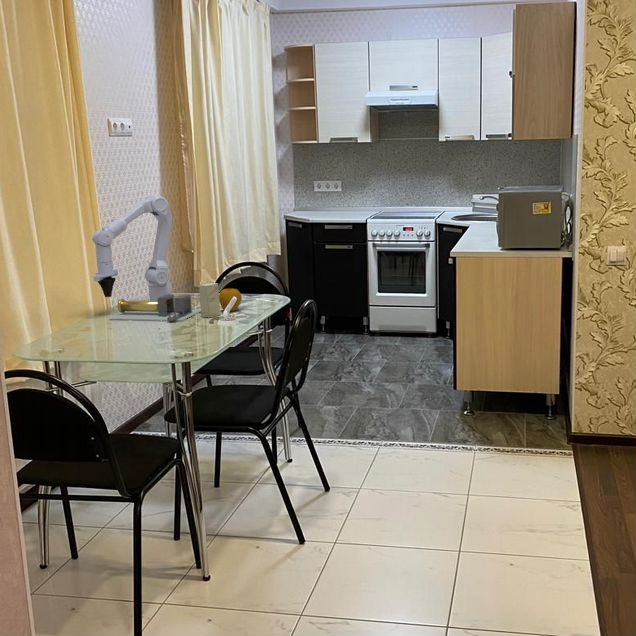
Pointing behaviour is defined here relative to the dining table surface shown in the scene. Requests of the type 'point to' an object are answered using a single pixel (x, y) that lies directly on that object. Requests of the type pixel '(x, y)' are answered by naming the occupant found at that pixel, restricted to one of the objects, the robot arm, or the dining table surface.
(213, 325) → the dining table surface
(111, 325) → the dining table surface
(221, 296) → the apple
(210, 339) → the dining table surface
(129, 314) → the mat
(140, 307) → the pin
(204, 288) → the skincare box
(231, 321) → the white lever switch
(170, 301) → the chain end
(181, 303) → the chain end
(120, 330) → the dining table surface
